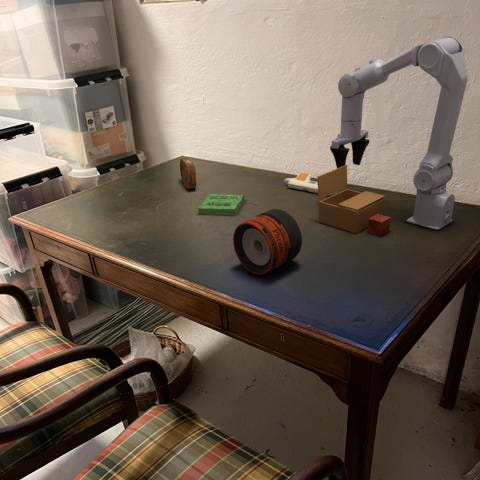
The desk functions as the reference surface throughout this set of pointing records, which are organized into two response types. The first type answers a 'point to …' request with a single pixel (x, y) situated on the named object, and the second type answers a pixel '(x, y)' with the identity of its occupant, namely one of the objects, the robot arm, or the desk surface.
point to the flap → (332, 181)
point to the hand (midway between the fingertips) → (348, 167)
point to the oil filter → (267, 241)
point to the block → (379, 225)
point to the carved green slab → (221, 204)
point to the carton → (350, 209)
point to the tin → (188, 173)
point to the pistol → (303, 183)
